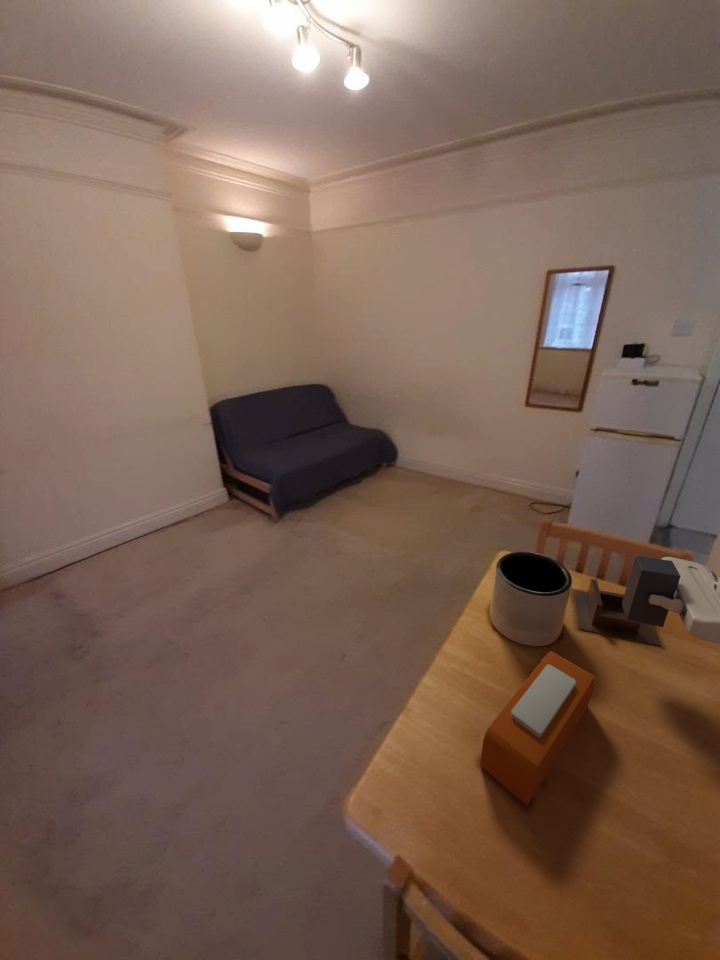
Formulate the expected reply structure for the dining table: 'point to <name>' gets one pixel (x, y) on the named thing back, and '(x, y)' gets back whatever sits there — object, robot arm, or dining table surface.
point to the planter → (530, 598)
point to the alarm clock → (536, 725)
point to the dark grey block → (649, 589)
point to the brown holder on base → (609, 616)
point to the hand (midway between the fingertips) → (644, 586)
